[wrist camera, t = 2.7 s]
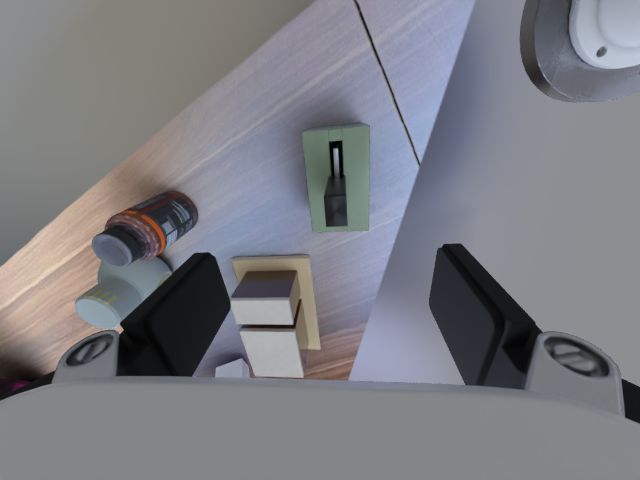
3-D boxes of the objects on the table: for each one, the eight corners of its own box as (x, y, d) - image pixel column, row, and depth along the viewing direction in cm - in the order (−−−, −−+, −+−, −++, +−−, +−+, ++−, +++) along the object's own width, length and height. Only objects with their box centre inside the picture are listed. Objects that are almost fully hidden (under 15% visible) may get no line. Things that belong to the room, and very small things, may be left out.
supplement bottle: (150, 207, 34) (70, 246, 24) (172, 181, 31) (94, 212, 22) (185, 236, 35) (123, 284, 26) (208, 213, 33) (150, 256, 23)
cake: (309, 254, 35) (301, 287, 28) (321, 345, 44) (317, 385, 38) (233, 257, 36) (209, 288, 30) (260, 344, 46) (245, 383, 39)
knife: (330, 141, 26) (320, 161, 15) (344, 140, 26) (345, 159, 15) (334, 200, 30) (328, 254, 18) (346, 200, 30) (348, 253, 18)
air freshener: (125, 234, 36) (55, 272, 27) (178, 252, 37) (126, 295, 28) (128, 285, 41) (69, 331, 33) (174, 300, 42) (129, 349, 33)
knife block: (310, 128, 27) (301, 132, 21) (363, 123, 26) (369, 125, 20) (318, 210, 32) (312, 232, 25) (363, 207, 31) (368, 230, 25)
